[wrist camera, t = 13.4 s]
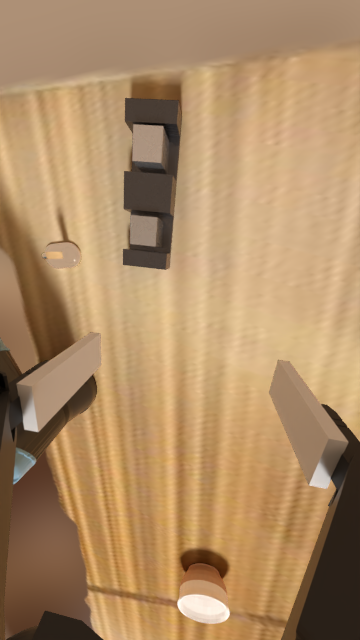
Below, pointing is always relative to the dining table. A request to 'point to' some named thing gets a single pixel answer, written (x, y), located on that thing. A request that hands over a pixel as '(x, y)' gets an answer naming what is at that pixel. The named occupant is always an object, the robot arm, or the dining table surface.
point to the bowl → (203, 595)
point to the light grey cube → (146, 231)
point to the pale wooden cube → (150, 148)
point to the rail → (153, 180)
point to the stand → (62, 255)
